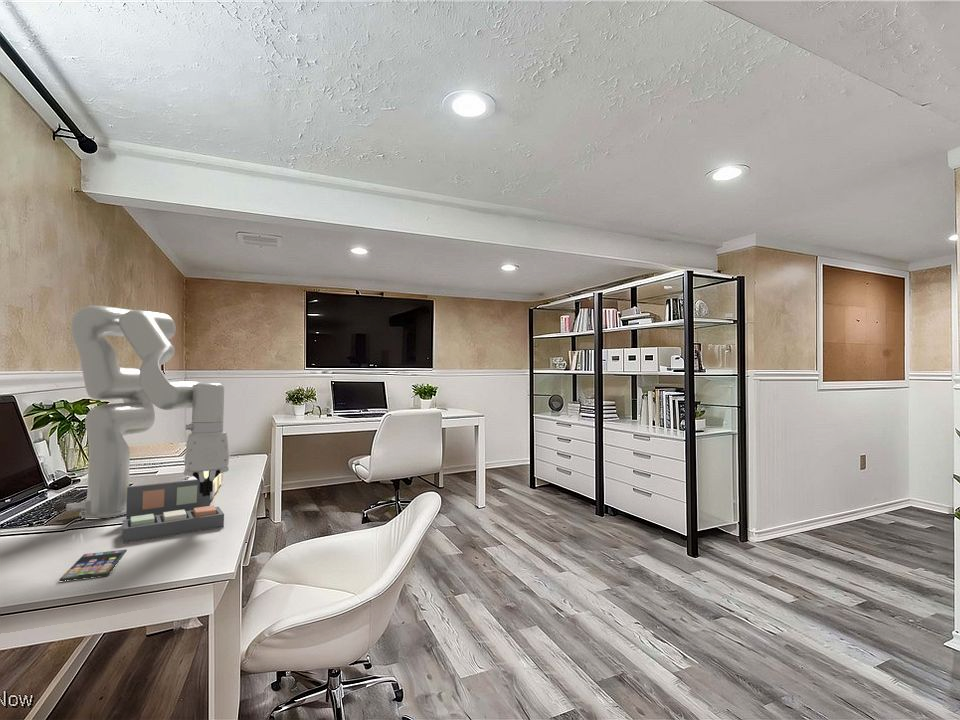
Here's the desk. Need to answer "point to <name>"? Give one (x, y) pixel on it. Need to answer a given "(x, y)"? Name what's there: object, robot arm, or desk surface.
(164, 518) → the key cream
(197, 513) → the key terracotta
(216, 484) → the white yellow ridged block
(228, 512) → the desk surface
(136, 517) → the key sage
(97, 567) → the smartphone
